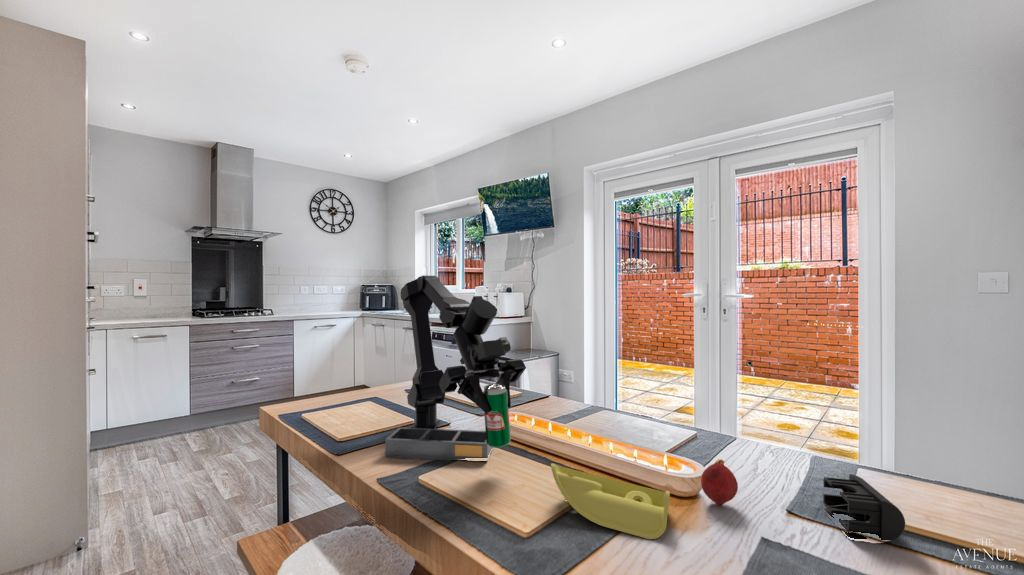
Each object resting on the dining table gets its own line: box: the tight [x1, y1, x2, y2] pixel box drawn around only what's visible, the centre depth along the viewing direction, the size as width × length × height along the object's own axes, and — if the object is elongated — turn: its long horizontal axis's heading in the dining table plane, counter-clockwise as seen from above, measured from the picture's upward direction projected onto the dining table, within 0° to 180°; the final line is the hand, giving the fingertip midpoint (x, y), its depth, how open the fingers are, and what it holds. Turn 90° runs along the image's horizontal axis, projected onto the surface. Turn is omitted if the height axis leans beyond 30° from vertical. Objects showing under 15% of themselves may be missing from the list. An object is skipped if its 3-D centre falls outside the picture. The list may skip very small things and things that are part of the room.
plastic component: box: [550, 462, 671, 540], centre depth 76 cm, size 20×7×10 cm
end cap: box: [822, 473, 906, 541], centre depth 71 cm, size 10×7×7 cm
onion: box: [700, 458, 739, 506], centre depth 79 cm, size 6×6×8 cm
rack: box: [384, 427, 492, 461], centre depth 102 cm, size 8×23×4 cm, turn 83°
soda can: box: [482, 383, 512, 449], centre depth 92 cm, size 5×5×12 cm
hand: (498, 409), depth 91 cm, fingers closed on soda can, 5 cm apart
